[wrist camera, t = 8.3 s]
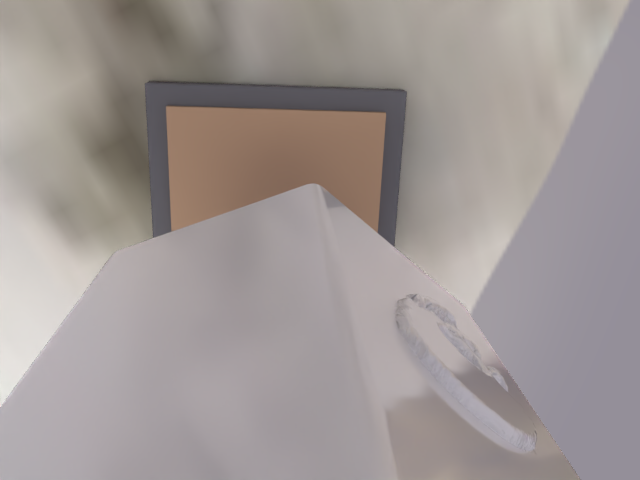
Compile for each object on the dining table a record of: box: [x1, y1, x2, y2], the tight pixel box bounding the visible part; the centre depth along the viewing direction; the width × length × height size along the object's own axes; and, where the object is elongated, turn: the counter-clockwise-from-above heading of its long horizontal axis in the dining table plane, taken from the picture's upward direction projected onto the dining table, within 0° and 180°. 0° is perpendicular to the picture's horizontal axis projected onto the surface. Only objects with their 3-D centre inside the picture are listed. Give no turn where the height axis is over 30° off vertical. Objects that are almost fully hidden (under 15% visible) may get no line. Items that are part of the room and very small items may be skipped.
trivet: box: [145, 82, 407, 246], centre depth 25 cm, size 10×10×1 cm
